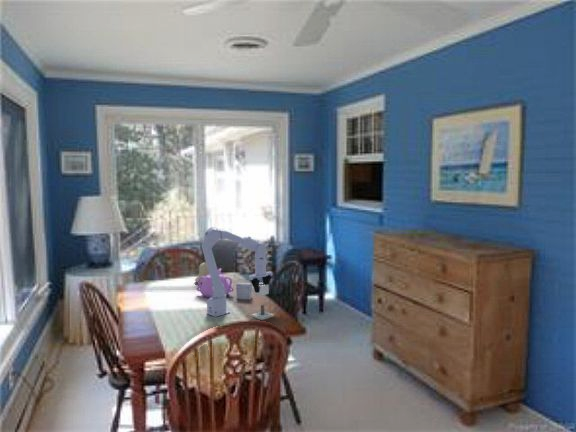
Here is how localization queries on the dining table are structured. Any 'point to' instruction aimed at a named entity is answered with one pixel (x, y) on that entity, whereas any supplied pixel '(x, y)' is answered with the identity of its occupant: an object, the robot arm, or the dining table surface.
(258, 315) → the post stand
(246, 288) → the medicine box
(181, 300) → the dining table surface
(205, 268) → the handbell
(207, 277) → the teapot
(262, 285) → the steel collar
